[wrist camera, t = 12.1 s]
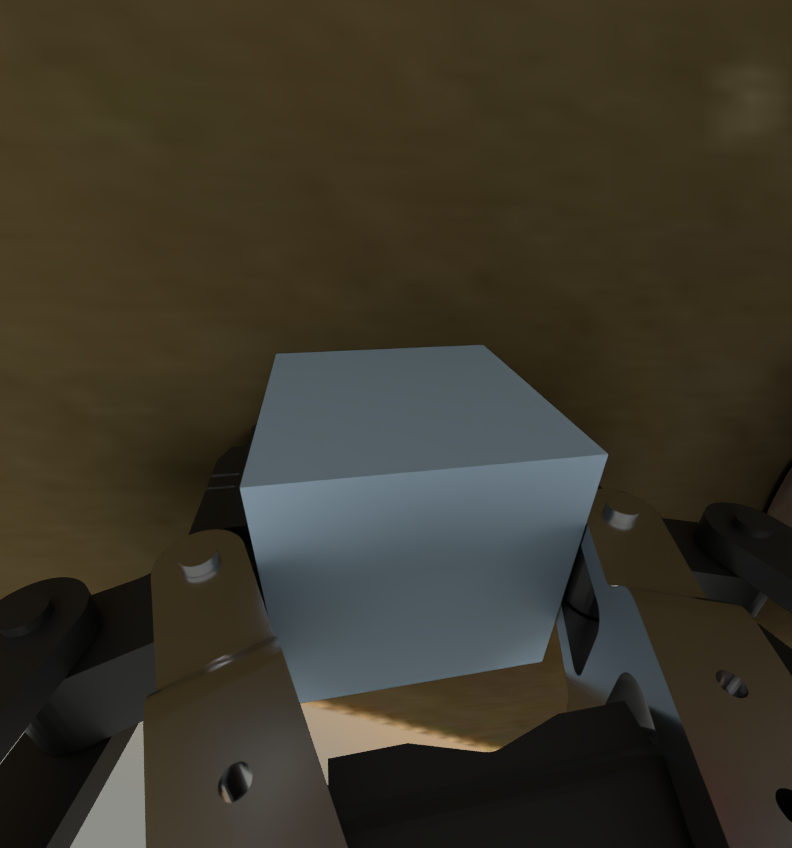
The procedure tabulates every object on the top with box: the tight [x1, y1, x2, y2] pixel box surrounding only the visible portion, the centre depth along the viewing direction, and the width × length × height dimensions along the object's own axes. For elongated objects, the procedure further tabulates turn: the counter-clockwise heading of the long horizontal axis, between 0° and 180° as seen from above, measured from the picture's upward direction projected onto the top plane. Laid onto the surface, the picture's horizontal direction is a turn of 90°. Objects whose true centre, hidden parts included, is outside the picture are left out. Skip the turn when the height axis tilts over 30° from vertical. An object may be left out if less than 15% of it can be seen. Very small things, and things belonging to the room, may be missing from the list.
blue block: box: [240, 345, 608, 703], centre depth 9 cm, size 5×5×5 cm
